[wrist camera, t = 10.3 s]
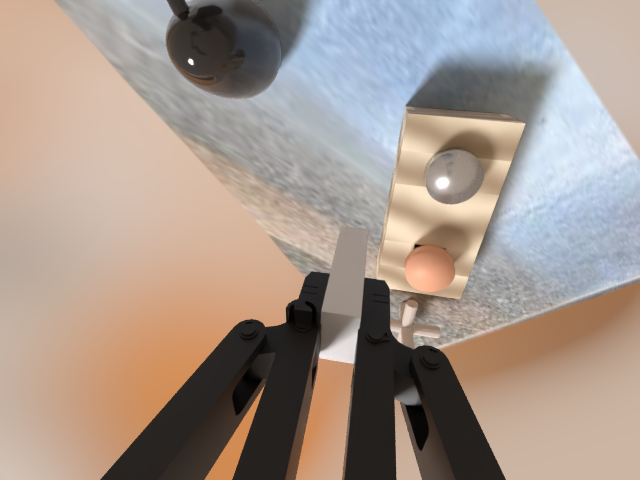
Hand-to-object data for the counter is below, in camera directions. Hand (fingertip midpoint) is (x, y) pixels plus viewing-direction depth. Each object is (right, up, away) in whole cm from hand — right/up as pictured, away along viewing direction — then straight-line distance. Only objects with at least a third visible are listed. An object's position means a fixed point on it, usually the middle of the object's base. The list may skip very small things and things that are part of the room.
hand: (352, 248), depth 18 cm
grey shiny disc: (+14, +11, +23) cm, 29 cm away
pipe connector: (+13, -11, +37) cm, 41 cm away
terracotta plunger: (+13, 0, +28) cm, 31 cm away
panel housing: (+14, +6, +27) cm, 31 cm away
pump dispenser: (-11, +24, +22) cm, 34 cm away
